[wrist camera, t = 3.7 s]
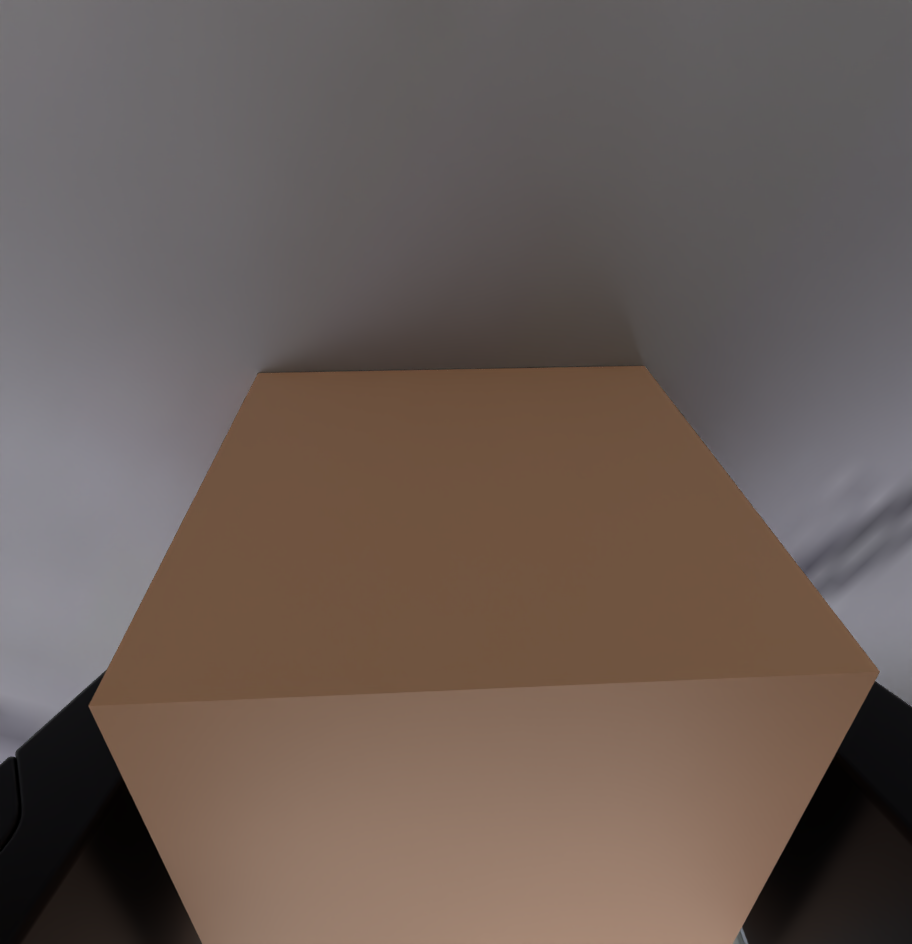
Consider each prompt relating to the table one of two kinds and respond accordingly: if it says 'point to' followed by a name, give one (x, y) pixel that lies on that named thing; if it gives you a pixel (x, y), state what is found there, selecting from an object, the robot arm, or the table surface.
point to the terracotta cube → (474, 670)
